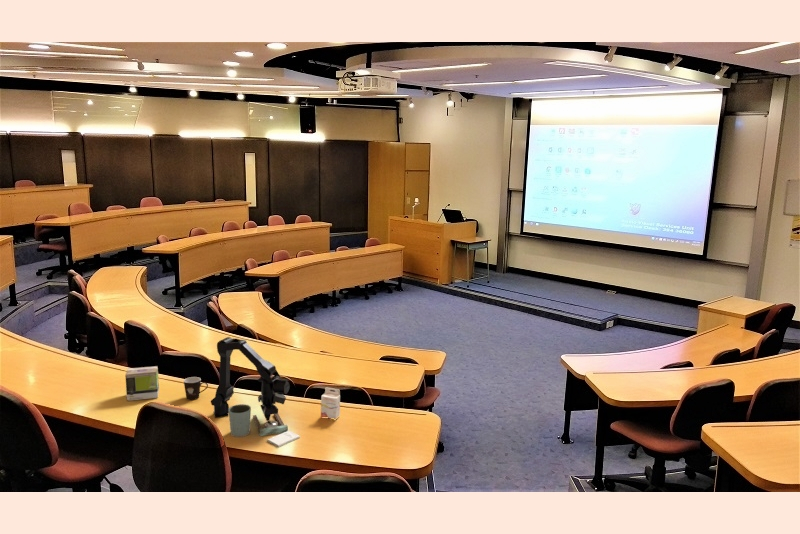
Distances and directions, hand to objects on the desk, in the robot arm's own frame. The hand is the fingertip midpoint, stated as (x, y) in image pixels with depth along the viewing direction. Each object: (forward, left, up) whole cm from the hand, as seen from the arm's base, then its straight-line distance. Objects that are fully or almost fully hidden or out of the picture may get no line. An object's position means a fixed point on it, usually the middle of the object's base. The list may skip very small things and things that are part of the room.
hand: (267, 420), depth 276 cm
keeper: (0, -7, -1) cm, 7 cm away
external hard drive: (+3, -20, -2) cm, 20 cm away
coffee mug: (-30, +42, -1) cm, 52 cm away
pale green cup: (-14, -6, -1) cm, 15 cm away
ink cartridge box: (+30, -5, -1) cm, 31 cm away
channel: (0, -2, -1) cm, 2 cm away
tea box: (-55, +54, -1) cm, 77 cm away
